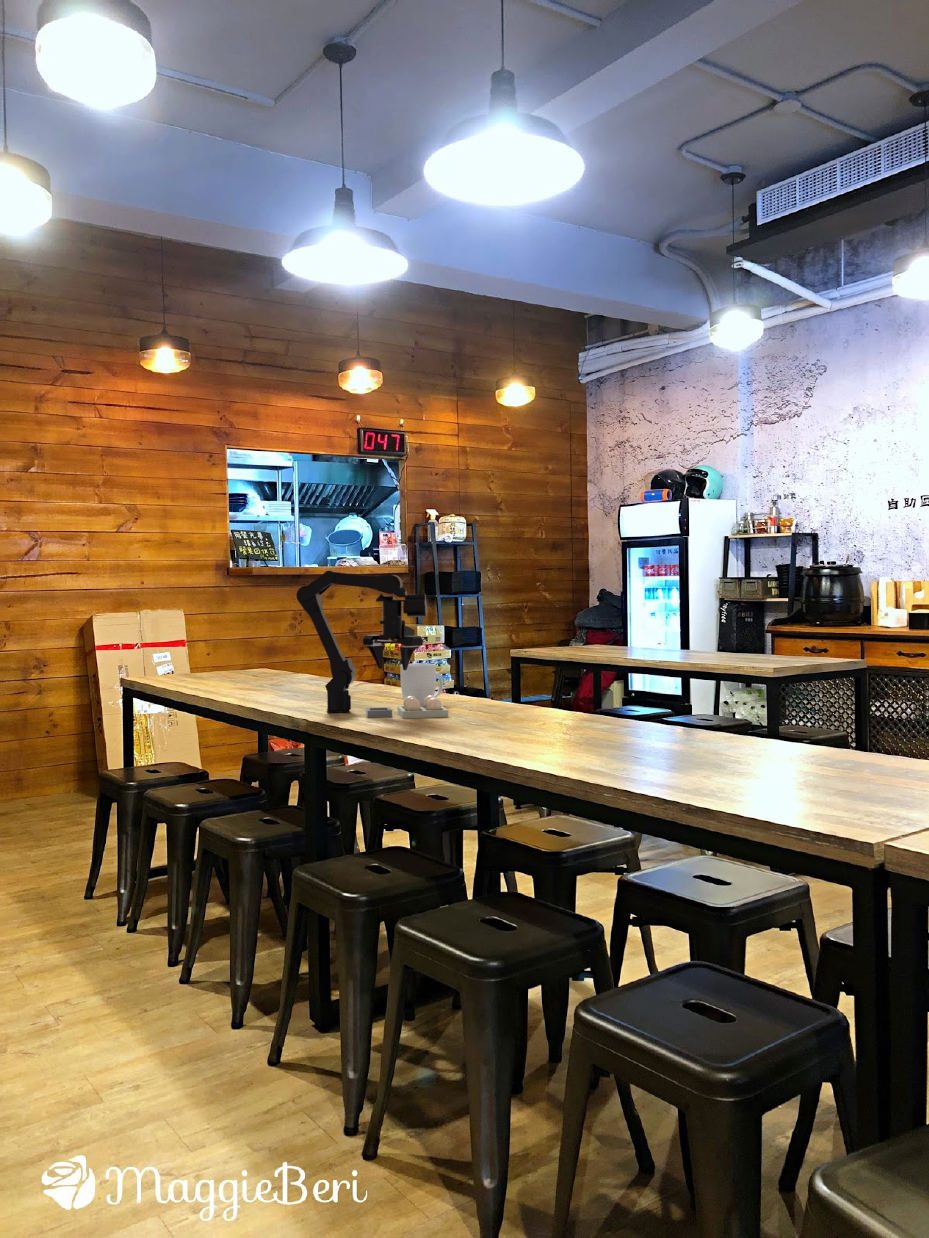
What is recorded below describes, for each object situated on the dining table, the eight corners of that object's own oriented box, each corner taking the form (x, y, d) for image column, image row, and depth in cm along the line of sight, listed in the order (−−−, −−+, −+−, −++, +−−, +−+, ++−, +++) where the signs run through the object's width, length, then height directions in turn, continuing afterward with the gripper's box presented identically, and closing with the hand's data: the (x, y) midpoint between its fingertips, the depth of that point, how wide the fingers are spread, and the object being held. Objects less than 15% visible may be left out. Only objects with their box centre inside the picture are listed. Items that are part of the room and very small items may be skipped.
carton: (402, 718, 267) (402, 699, 267) (397, 712, 280) (397, 694, 280) (448, 716, 270) (448, 698, 269) (441, 711, 282) (440, 693, 282)
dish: (367, 717, 269) (367, 710, 269) (365, 714, 276) (365, 707, 276) (392, 716, 271) (392, 710, 271) (389, 713, 278) (389, 707, 277)
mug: (431, 702, 304) (431, 661, 304) (453, 705, 296) (453, 663, 296) (393, 706, 295) (393, 664, 295) (414, 709, 286) (414, 666, 286)
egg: (406, 713, 269) (407, 699, 269) (404, 711, 273) (405, 697, 273) (421, 713, 270) (421, 699, 269) (419, 711, 274) (419, 697, 273)
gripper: (433, 616, 283) (434, 668, 283) (385, 616, 293) (385, 666, 294) (410, 617, 274) (411, 671, 274) (361, 617, 284) (361, 669, 285)
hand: (392, 669), depth 282 cm, fingers open, 9 cm apart
